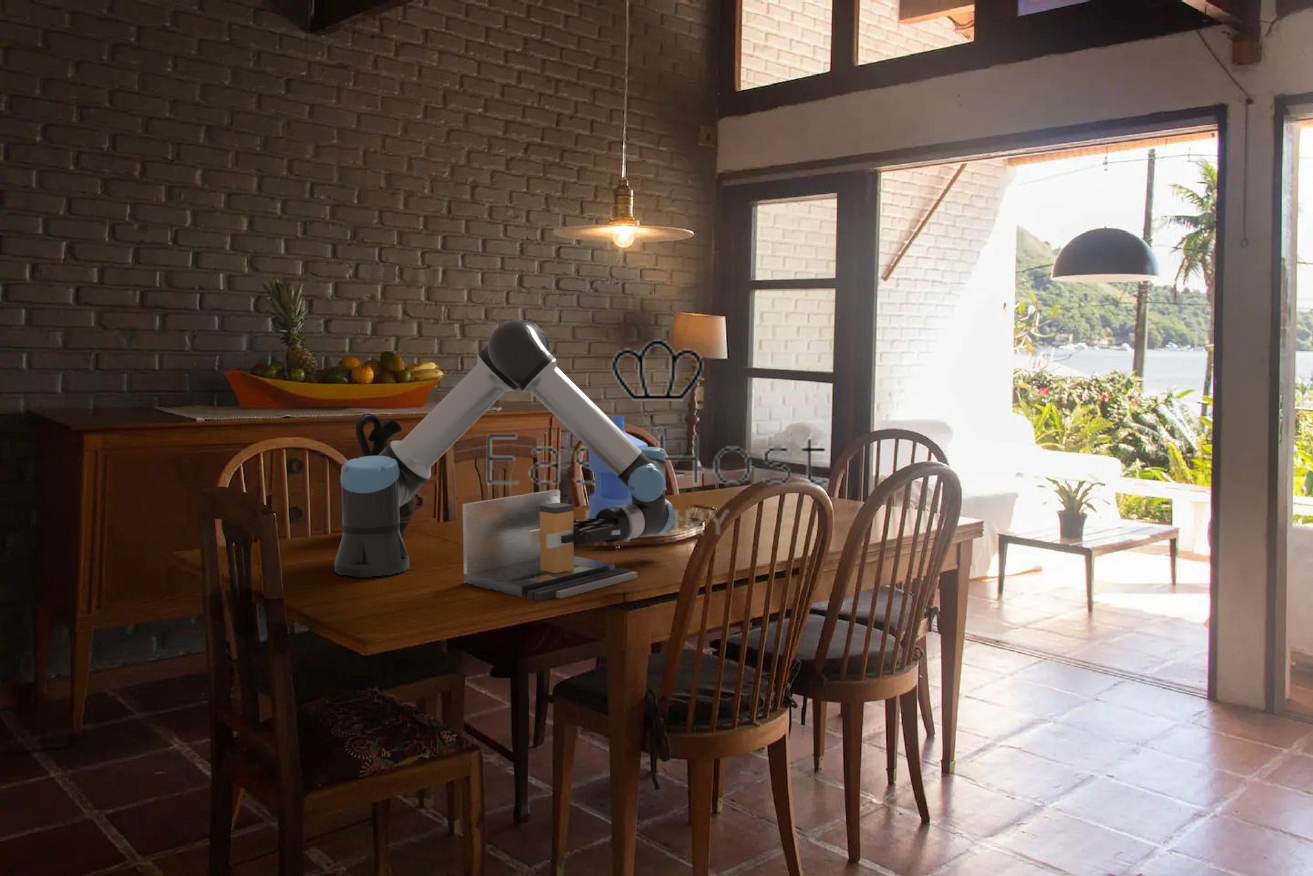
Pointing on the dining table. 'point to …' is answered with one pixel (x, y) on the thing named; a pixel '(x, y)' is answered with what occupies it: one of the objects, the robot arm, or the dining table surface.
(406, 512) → the ceramic jug
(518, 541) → the l-shaped metal bracket
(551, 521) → the lever
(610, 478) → the water jug
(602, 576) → the long grooved rail
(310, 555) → the dining table surface
